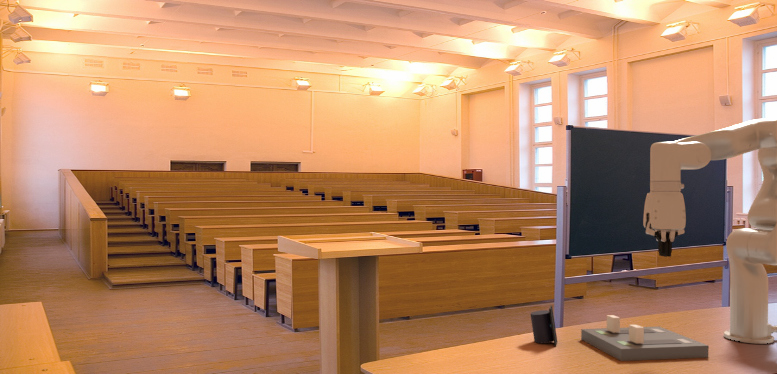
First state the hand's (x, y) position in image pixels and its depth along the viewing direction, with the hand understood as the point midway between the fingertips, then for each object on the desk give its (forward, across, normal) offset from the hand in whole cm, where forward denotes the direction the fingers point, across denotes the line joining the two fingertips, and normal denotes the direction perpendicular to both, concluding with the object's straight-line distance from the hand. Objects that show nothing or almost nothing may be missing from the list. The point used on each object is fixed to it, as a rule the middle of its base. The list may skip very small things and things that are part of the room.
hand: (665, 255), depth 173 cm
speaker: (+25, +30, -10) cm, 40 cm away
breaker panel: (+25, +6, -1) cm, 26 cm away
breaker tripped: (+21, +11, +5) cm, 25 cm away
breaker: (+21, +11, -7) cm, 25 cm away
